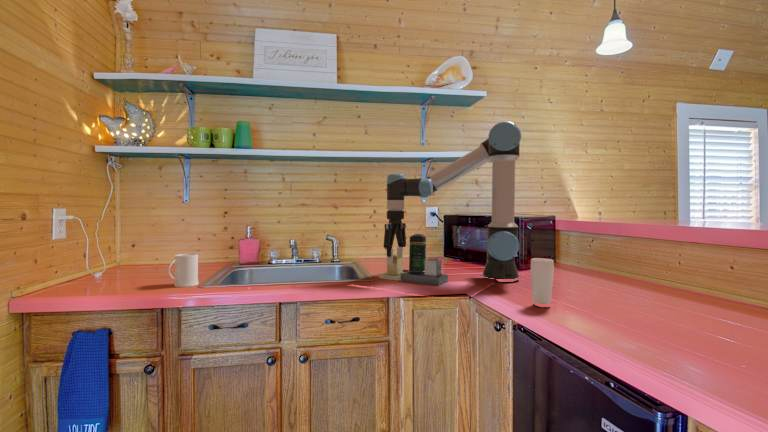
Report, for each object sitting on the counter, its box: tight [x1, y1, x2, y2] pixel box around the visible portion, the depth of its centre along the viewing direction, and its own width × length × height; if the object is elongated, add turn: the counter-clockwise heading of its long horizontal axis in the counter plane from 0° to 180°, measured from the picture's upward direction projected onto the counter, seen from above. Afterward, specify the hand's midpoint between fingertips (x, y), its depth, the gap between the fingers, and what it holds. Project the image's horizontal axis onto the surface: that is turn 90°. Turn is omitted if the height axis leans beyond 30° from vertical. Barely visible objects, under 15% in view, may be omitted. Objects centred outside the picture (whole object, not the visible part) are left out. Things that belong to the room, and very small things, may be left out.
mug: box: [167, 253, 200, 288], centre depth 144 cm, size 12×8×12 cm
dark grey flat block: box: [400, 270, 449, 287], centre depth 151 cm, size 17×9×4 cm, turn 57°
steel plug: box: [425, 257, 443, 277], centre depth 149 cm, size 5×5×10 cm
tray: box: [378, 271, 405, 281], centre depth 160 cm, size 9×11×2 cm
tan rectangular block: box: [386, 254, 404, 276], centre depth 160 cm, size 5×5×10 cm
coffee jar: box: [408, 233, 427, 272], centre depth 177 cm, size 10×8×19 cm
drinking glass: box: [530, 257, 555, 304], centre depth 117 cm, size 7×7×15 cm
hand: (395, 262), depth 160 cm, fingers open, 8 cm apart
